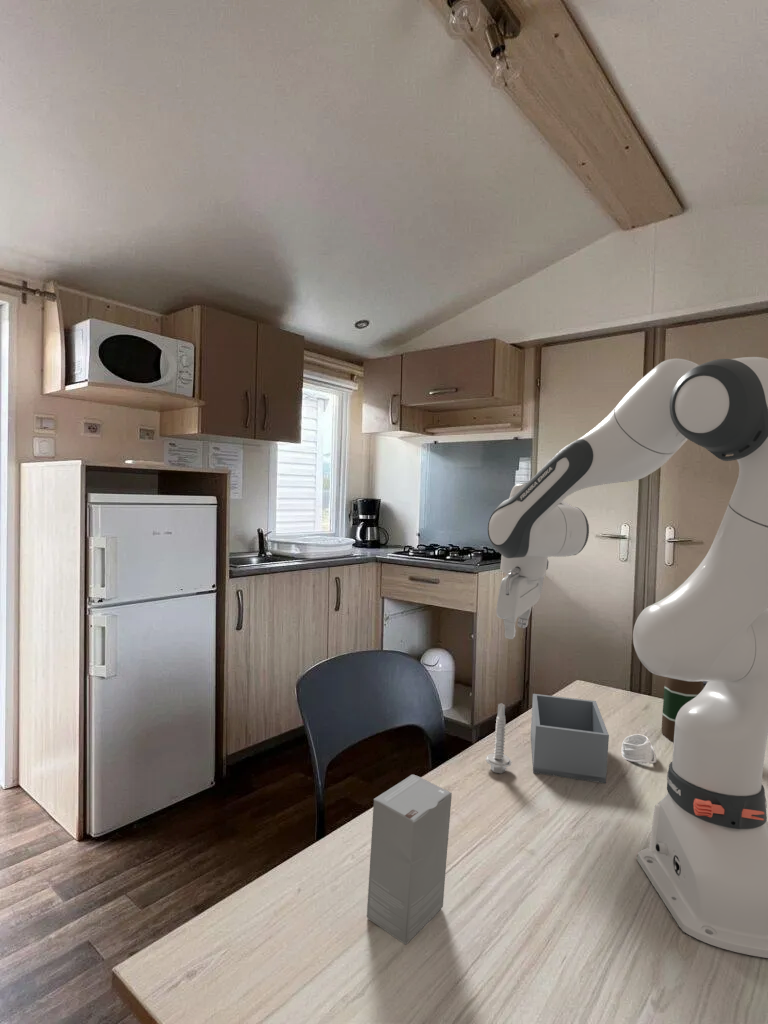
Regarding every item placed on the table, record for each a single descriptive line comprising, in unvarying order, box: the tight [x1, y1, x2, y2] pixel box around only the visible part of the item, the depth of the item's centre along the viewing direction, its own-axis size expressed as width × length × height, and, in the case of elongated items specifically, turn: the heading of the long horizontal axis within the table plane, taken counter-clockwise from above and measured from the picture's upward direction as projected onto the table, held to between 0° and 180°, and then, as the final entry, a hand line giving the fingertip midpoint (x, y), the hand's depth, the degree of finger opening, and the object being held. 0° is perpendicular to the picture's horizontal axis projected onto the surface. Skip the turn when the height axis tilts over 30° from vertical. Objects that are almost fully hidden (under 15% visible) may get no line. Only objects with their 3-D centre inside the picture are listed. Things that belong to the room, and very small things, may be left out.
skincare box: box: [366, 773, 453, 945], centre depth 73 cm, size 8×7×16 cm
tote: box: [530, 693, 610, 784], centre depth 119 cm, size 18×13×9 cm
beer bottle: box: [661, 677, 705, 742], centre depth 130 cm, size 8×8×24 cm
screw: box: [485, 702, 513, 774], centre depth 112 cm, size 13×5×5 cm
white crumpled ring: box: [620, 733, 657, 764], centre depth 120 cm, size 8×7×5 cm
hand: (516, 632), depth 118 cm, fingers open, 8 cm apart
